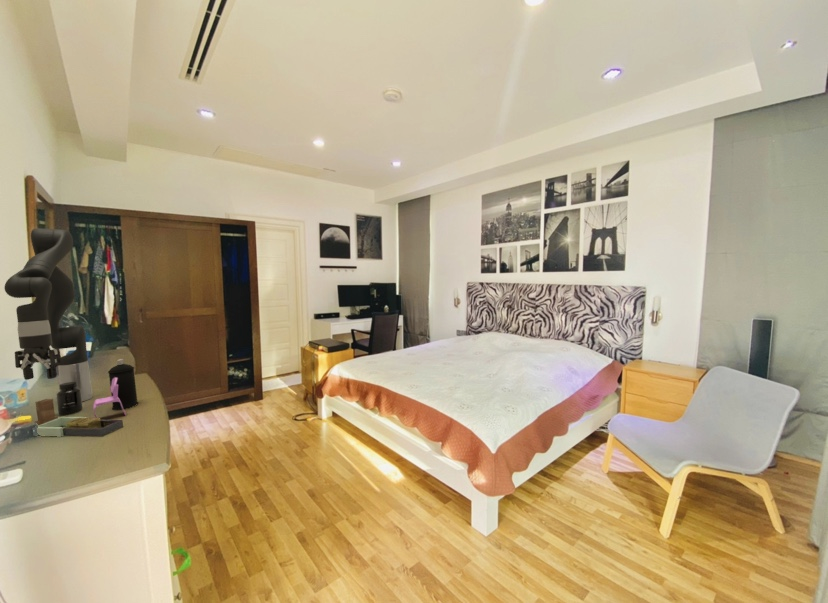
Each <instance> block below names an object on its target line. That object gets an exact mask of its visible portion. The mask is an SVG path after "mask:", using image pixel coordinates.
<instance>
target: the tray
mask: <svg viewBox="0 0 828 603" xmlns="http://www.w3.org/2000/svg"><path fill="white" fill-rule="evenodd" d="M77 418H88V416H87V417H84V416H60V417H58V418H57V419H55V420H52V421H49V422H47V423H44V424H41V425H39V426H38V428H37V433H38V434H39V435H45V436H57V437H56V438H61V436H62V437H65V436H64V435H63V427H64V426H65V427H66V423H67V422H69V421H72V420H74V419H77Z"/></svg>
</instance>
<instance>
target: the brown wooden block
mask: <svg viewBox="0 0 828 603" xmlns="http://www.w3.org/2000/svg"><path fill="white" fill-rule="evenodd" d="M34 404H35V408H36V416H37V420H36V421H34V423H37V424H38V425H41V424H44V423H47V422H49V421H52V420H55V419H57V418H59V416H56V413H55V407H54V399H53V398H45V399H44V398H43V399H41V400H39V401H35V403H34Z"/></svg>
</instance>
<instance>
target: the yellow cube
mask: <svg viewBox="0 0 828 603" xmlns="http://www.w3.org/2000/svg"><path fill="white" fill-rule="evenodd" d="M88 418H89V417H87V418H77V419H74V420H72V421H69V422H67V423H66V426H65V428H66V427H78V424H77V423H79V422H81V421H84V420H86V419H88Z"/></svg>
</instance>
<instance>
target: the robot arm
mask: <svg viewBox="0 0 828 603" xmlns="http://www.w3.org/2000/svg"><path fill="white" fill-rule="evenodd" d="M30 241H31V245H32V250H33V253H34V256H32V257H30V258H29V259H28V260H27V262H26V263H25V265H24V266H23V268H22V269H20V270H19V271H17V272H16V273H14V274H13V275H12V276H10V277H9V278H8V279H7V280H6V282H5V284H4V292H5V293H6V295H8V296H10V297H11V298H15V299H16V298H17V299H23V298H24V299H25V298H26V299H27V298H35V299H34V301H33V302H31V303H27V304H21V305H19V306H17V307H16V310H15V311H16V318H17V336H18V343H19V348H20V350H16V351H14V364H15V368H16V369H18V368H19V369H21V371H22V373H23V375H22V376H23V378H24V380H25V381H28V380H32V379H34V378H35V377H34V369H33V366H34V364H35V363H36V364H37V363H40V364H41V365H44V367H45V368H46V369H45V370H46V376H47V377H46V378H47V379H48V380H50V379H55V378H57V374H59V381H58V386H59V385H60V384H63V383H67V382H76V383H77V387H76V388H79V389H80V390H81V397H82V402H85V401H88V400H92V398H93V390H92V382H91V373H90V366H89V358H88V351H87V336H86V330H85V328H84V326H81V325H76V326H74V325H73V326H65V327H60V322H61V319H62V318H63V316H64V314H65V313H66V311H67V310H68V309H69V308H70V307H71V305H72V303H73V302H74V300H75V299H76V298H75V297H76V294H75V287H74V282H73V280H72V279H71V278H70V276H68V275H67V274H66V273H65V272H64V271H63V270H61V269H60V268H59V267H58V266H57V265H58V264H59V263H60V262H61V261H62V260H63V259H64V258H65V257H67V255H68V254H69V253H70V251H71V250H72V249H73V246H74V238H73V235H72V234H71V232H70V231H68V230H66V229H61V228H60V229H58V228H40V227H38V228H33V229H32V230H31V232H30ZM50 347H51V348H52V349H51V348H50ZM70 348H75V350H74V351H72V352H70V353H68V354H65V355H63V356H61V351H60V350H63V349H70ZM57 368H58V373H57Z"/></svg>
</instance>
